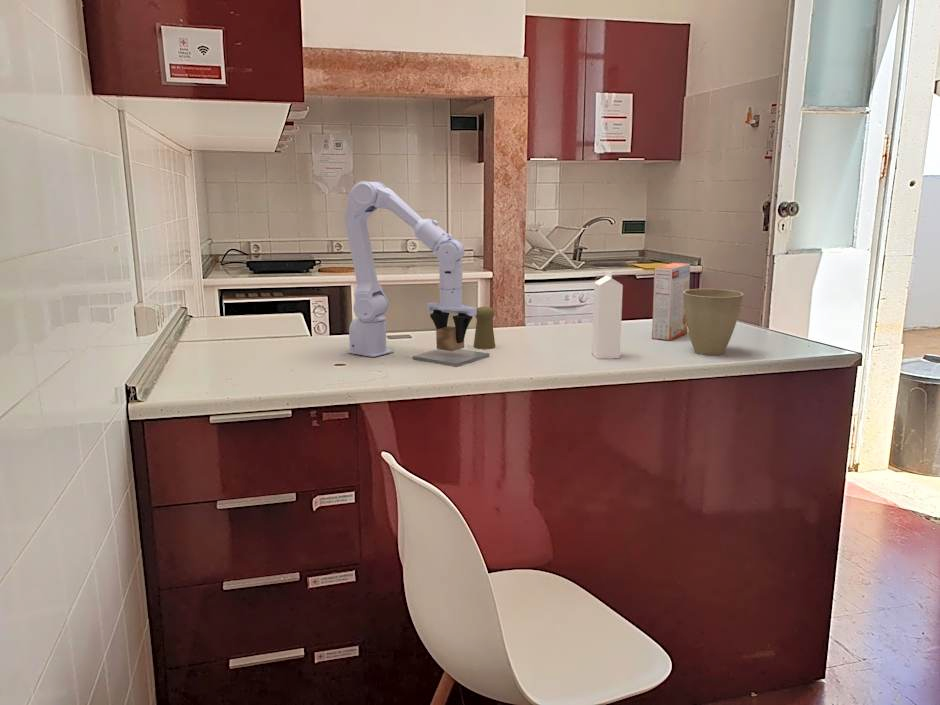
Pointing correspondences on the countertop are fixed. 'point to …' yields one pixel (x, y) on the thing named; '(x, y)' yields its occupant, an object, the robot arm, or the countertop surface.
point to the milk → (607, 318)
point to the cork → (484, 329)
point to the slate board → (451, 356)
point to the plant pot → (711, 318)
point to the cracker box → (670, 300)
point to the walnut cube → (447, 339)
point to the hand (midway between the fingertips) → (451, 341)
